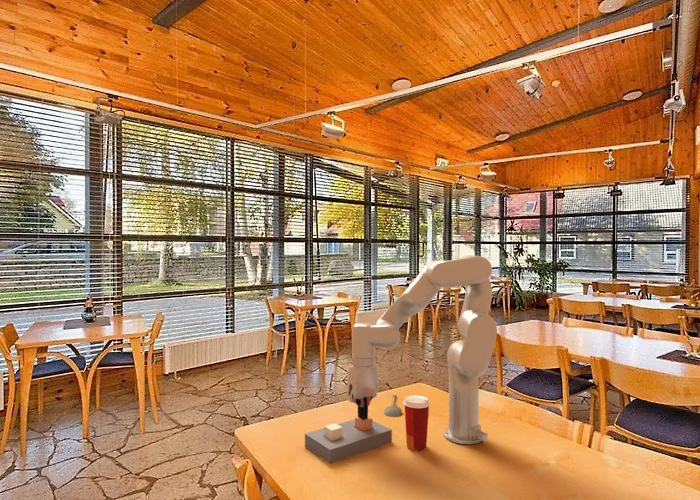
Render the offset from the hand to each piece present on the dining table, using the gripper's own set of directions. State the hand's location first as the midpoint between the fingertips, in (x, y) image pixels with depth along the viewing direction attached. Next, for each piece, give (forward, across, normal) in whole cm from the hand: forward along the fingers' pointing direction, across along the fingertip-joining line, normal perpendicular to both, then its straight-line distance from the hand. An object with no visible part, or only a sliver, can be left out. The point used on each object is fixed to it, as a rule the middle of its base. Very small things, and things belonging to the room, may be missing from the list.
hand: (362, 417), depth 143 cm
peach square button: (+4, 0, 0) cm, 4 cm away
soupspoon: (+8, -29, -16) cm, 34 cm away
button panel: (+7, +6, 0) cm, 9 cm away
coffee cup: (+7, -10, +14) cm, 19 cm away
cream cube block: (+5, +12, 0) cm, 13 cm away
